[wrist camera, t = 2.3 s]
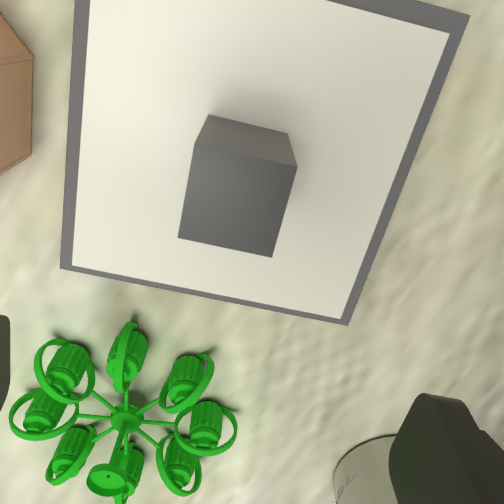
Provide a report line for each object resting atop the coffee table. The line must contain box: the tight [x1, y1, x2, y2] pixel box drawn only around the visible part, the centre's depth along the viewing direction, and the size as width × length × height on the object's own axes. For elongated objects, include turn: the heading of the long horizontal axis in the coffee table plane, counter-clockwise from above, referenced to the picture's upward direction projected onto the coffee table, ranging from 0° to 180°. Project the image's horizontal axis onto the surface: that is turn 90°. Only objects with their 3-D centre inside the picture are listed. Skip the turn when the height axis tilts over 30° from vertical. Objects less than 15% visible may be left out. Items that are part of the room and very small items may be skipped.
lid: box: [72, 0, 449, 319], centre depth 22 cm, size 16×16×7 cm
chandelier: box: [9, 322, 237, 504], centre depth 30 cm, size 15×15×7 cm
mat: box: [60, 0, 470, 326], centre depth 25 cm, size 18×18×1 cm
